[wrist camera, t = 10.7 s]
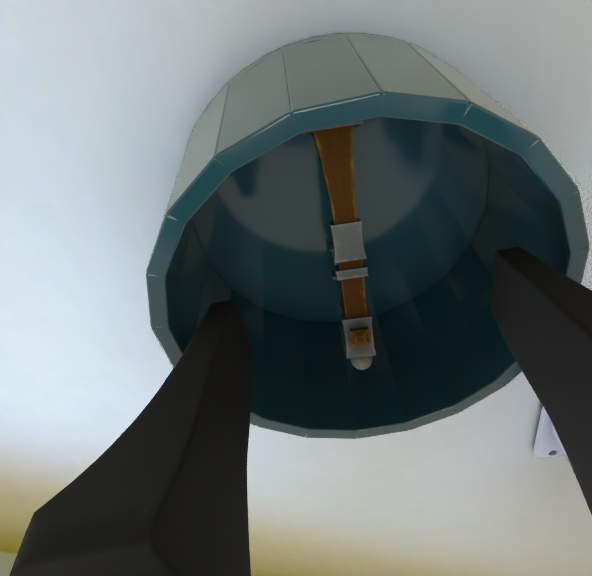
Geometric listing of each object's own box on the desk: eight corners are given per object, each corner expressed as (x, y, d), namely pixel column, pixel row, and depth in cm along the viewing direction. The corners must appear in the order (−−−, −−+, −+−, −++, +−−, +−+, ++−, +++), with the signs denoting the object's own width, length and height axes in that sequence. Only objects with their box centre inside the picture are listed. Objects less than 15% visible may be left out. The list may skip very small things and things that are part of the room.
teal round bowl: (509, -10, 13) (640, 35, 9) (487, 294, 21) (553, 408, 16) (126, 79, 14) (60, 161, 10) (231, 340, 21) (222, 460, 17)
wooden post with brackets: (329, 334, 19) (337, 384, 15) (299, 129, 17) (299, 117, 13) (373, 327, 19) (395, 376, 15) (348, 121, 17) (365, 107, 13)
